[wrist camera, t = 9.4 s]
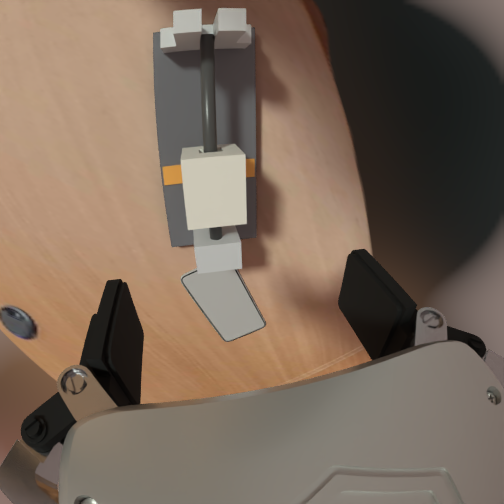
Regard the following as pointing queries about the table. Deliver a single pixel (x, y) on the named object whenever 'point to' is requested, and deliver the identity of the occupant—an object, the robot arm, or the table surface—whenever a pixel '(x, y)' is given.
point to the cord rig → (206, 119)
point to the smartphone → (224, 302)
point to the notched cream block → (214, 186)
